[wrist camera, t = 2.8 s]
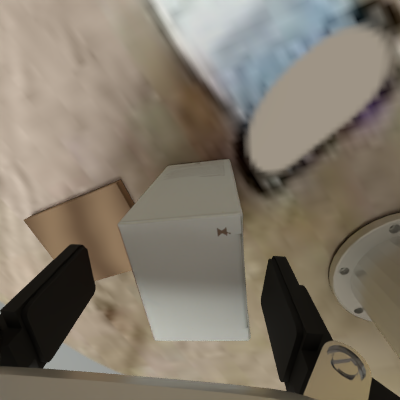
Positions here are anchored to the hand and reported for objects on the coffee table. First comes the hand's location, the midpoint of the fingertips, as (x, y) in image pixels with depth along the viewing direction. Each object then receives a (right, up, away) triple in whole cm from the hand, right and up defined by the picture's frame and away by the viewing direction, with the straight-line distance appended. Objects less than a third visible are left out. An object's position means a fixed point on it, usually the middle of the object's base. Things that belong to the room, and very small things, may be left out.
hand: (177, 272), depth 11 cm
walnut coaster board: (-9, 0, +11) cm, 15 cm away
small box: (+2, +4, +9) cm, 10 cm away
